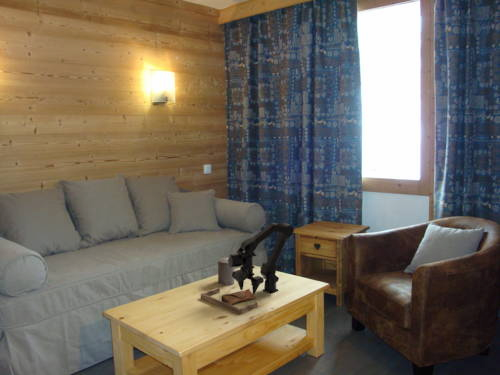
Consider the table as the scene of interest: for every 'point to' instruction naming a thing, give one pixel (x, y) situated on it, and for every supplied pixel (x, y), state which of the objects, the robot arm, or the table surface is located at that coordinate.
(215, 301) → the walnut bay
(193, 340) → the table surface
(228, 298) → the sunglasses case
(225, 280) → the pillar candle
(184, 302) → the table surface
